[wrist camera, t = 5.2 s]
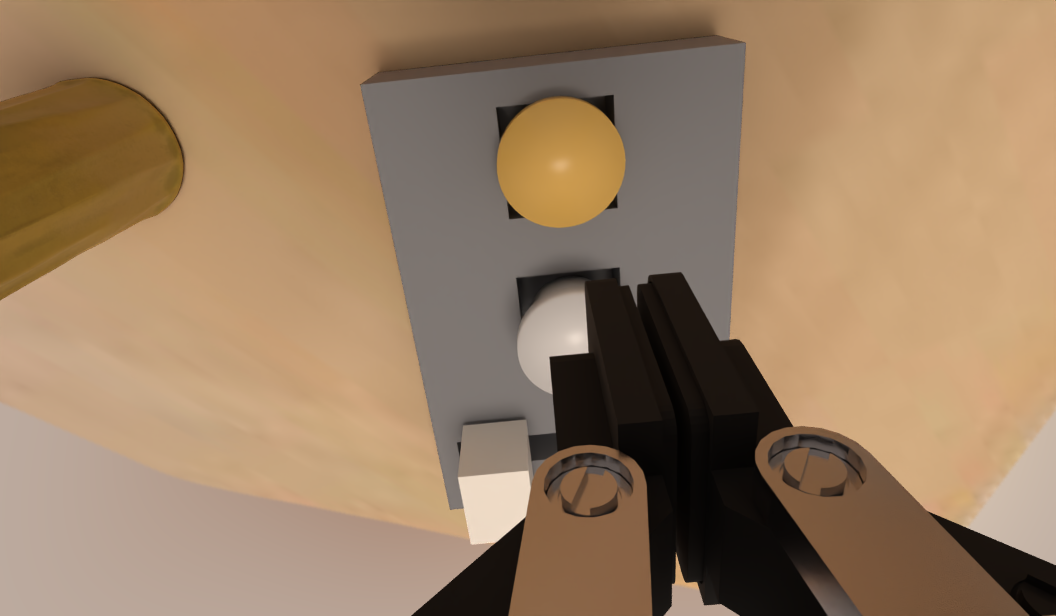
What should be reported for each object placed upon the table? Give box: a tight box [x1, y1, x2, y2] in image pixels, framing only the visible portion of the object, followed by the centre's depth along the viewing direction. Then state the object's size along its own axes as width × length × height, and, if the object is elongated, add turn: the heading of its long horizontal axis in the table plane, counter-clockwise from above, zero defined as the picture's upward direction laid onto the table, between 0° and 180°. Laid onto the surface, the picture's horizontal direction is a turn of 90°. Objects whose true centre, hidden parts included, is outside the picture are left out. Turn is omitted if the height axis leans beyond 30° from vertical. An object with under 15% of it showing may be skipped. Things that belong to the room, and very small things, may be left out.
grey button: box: [517, 276, 591, 394], centre depth 27 cm, size 5×5×3 cm
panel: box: [360, 35, 746, 510], centre depth 29 cm, size 14×21×4 cm, turn 6°
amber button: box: [497, 96, 626, 228], centre depth 25 cm, size 5×5×3 cm
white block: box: [458, 420, 534, 544], centre depth 30 cm, size 3×4×6 cm
